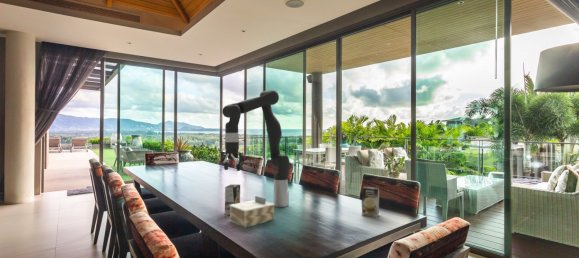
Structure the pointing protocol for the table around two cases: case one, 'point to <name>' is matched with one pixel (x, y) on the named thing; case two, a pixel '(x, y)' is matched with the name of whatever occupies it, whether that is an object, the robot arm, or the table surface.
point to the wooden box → (251, 216)
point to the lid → (252, 204)
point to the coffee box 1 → (231, 196)
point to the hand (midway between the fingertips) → (232, 170)
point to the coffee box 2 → (370, 201)
